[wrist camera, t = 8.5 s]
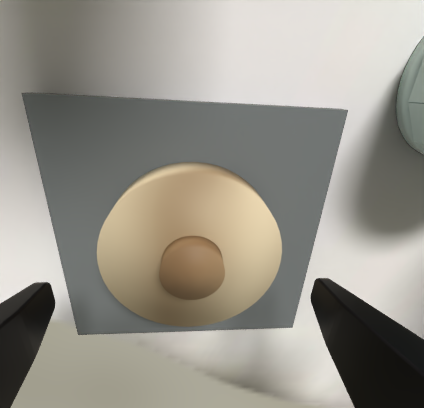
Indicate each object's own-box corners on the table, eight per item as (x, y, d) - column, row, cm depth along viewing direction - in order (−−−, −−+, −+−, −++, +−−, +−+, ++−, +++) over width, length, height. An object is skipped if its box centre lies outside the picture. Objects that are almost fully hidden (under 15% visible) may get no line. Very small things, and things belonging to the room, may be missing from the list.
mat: (339, 108, 10) (348, 110, 10) (288, 318, 15) (292, 327, 14) (31, 92, 9) (21, 93, 9) (82, 324, 14) (78, 334, 13)
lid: (282, 164, 10) (307, 184, 8) (259, 298, 13) (273, 339, 11) (99, 158, 10) (72, 179, 8) (117, 301, 13) (102, 345, 10)
